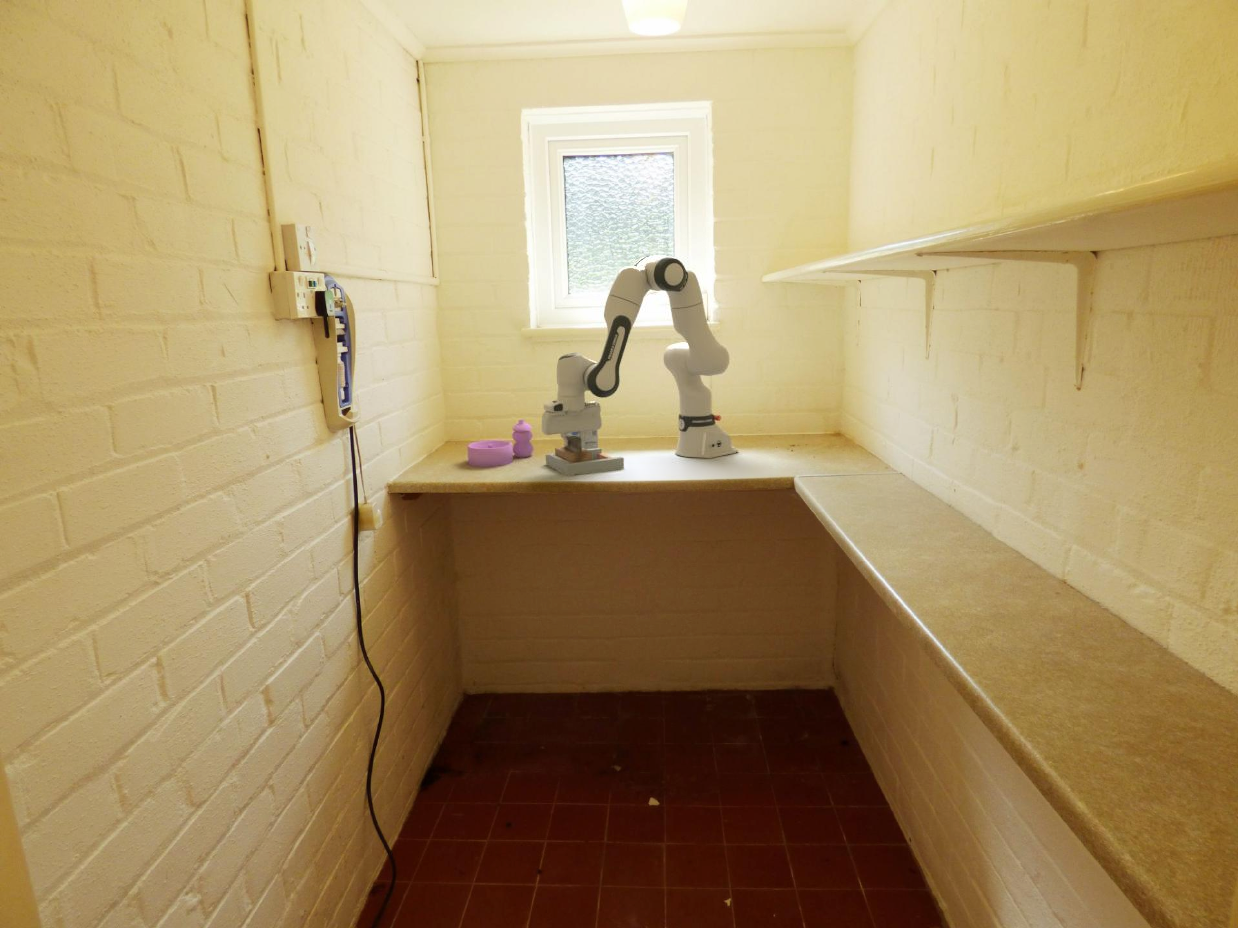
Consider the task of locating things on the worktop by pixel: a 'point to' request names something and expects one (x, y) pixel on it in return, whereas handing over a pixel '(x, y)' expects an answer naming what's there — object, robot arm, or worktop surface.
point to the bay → (585, 463)
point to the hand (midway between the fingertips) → (572, 445)
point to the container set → (501, 448)
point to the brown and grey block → (573, 451)
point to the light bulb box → (588, 439)
